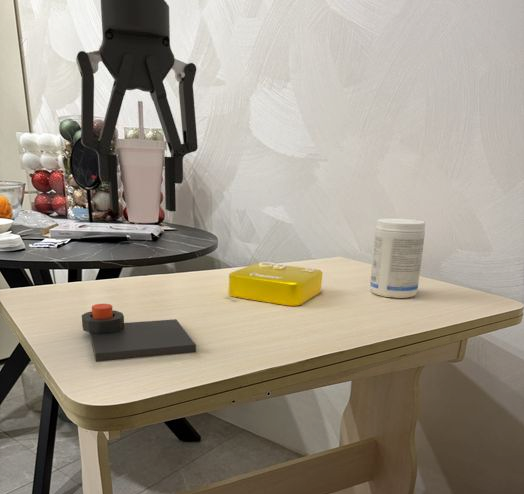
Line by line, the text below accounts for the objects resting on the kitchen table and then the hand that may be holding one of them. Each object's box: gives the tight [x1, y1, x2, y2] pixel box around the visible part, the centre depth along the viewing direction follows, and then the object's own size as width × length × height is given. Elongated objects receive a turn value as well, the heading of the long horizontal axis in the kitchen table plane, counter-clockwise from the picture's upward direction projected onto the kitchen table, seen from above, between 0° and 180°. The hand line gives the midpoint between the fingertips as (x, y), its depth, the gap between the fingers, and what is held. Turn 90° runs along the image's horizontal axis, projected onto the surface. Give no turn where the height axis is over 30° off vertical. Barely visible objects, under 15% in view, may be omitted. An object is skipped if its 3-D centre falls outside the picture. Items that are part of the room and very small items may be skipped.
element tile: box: [228, 261, 323, 307], centre depth 102 cm, size 15×15×5 cm
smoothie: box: [113, 100, 168, 224], centre depth 64 cm, size 6×6×14 cm
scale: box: [81, 309, 197, 363], centre depth 73 cm, size 14×13×3 cm
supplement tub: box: [369, 217, 426, 299], centre depth 105 cm, size 10×10×15 cm
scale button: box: [91, 303, 114, 319], centre depth 74 cm, size 3×3×2 cm
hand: (143, 209), depth 66 cm, fingers closed on smoothie, 6 cm apart
